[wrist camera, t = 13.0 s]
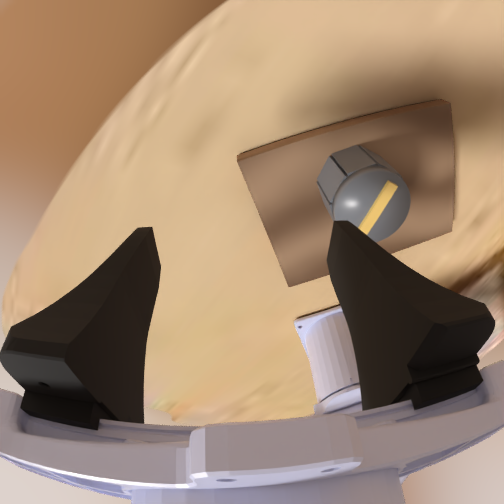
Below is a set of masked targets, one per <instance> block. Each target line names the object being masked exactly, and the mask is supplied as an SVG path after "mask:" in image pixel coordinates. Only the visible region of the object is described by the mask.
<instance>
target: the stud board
mask: <svg viewBox="0 0 504 504" xmlns="http://www.w3.org/2000/svg"><path fill="white" fill-rule="evenodd" d="M354 145H357V146H359V145H360V146H362V147H364V148H366V149H368V150H370V151H372V152H374V153H376V154H378V155H379V156H381V157H382V158H383V159H384V160H385V161H386V162H387V163H388V164H390V165H391V166H392V167H393V168H394V169H395V170H396V171H397V172H398V173H399V174H400V175H401V177H402V178H403V181H404V182H405V183H406V185H407V187H408V189H409V192H410V197H411V203H410V209H409V213H408V215H407V217H406V219H405V221H404V223H403V224H402V225H401V227H400V228H399V229H398V230H397V231H396V232H394V233H393V234H392V235H391V236H389V237H387V238H386V239H384V240H381V241H379V242H376V243H377V244H378V245H380V246H381V247H382V248H383V249H385V250H386V251H387V252H388V253H390V254H392V253H395V252H397V251H400V250H403V249H406V248H409V247H411V246H414V245H417V244H420V243H422V242H425V241H428V240H430V239H433V238H436V237H438V236H441V235H444V234H446V233H449V232H452V224H453V208H454V141H453V125H452V113H451V103H449V102H447V101H444V100H442V99H440V100H434V101H429V102H424V103H419V104H414V105H409V106H404V107H400V108H395V109H391V110H387V111H382V112H378V113H374V114H370V115H366V116H362V117H358V118H354V119H351V120H347V121H343V122H340V123H336V124H332V125H329V126H325V127H322V128H319V129H315V130H312V131H309V132H305V133H302V134H299V135H296V136H292V137H289V138H286V139H283V140H280V141H277V142H274V143H271V144H268V145H265V146H262V147H259V148H257V149H254V150H251V151H248V152H245V153H242V154H240V155H237V162H238V165H239V167H240V169H241V172H242V174H243V177H244V179H245V181H246V184H247V186H248V188H249V191H250V193H251V196H252V198H253V200H254V203H255V205H256V208H257V210H258V213H259V215H260V217H261V220H262V222H263V225H264V227H265V230H266V232H267V234H268V237H269V239H270V242H271V244H272V247H273V249H274V252H275V254H276V257H277V259H278V262H279V264H280V266H281V269H282V271H283V274H284V276H285V279H286V281H287V284H288V286H289V287H292V286H295V285H298V284H301V283H305V282H308V281H311V280H314V279H317V278H320V277H323V276H327V275H330V274H329V270H328V265H327V261H326V260H327V255H328V249H329V244H330V239H331V233H332V228H333V220H332V218H331V216H330V214H329V212H328V210H327V208H326V207H325V205H324V202H323V199H322V196H321V194H320V191H319V188H318V185H317V181H318V180H317V177H318V176H319V174H320V172H321V170H322V168H323V166H324V164H325V162H326V160H327V159H328V157H329V156H331V157H332V153H335V152H337V151H340V150H343V149H346V148H349V147H352V146H354Z"/></svg>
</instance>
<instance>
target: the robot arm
mask: <svg viewBox="0 0 504 504" xmlns="http://www.w3.org/2000/svg"><path fill="white" fill-rule="evenodd" d="M326 261H327V265H328V270H329V274H330V278H331V282H332V284H333V287H334V290H335V292H336V295H337V298H338V300H339V303H340V306H338V307H335V308H331V309H328V310H325V311H322V312H319V313H316V314H312V315H309V316H306V317H302V318H299V319H296V320H295V321H294V325H295V328H296V330H297V332H298V335H299V337H300V339H301V342H302V344H303V346H304V349H305V351H306V353H307V356H308V358H309V361H310V366H311V371H312V376H313V381H314V386H315V391H316V396H317V401H318V404H315V405H314V412H315V414H314V415H311V416H309V417H299V418H290V419H280V420H268V421H254V422H232V423H219V424H209V425H205V426H167V425H152V424H144V367H145V354H146V343H147V337H148V331H149V327H150V322H151V318H152V314H153V310H154V305H155V301H156V297H157V293H158V289H159V281H160V272H161V264H160V260H159V256H158V251H157V247H156V242H155V238H154V233H153V228H152V227H142V228H137V229H136V230H135V231H134V232H133V233H132V234H131V235H130V236H129V237H128V238H127V239H126V240H125V241H124V242H123V243H122V244H121V245H120V246H119V247H118V248H117V249H116V250H115V252H114V253H113V254H112V255H111V256H110V257H109V258H108V259H107V260H106V261H105V262H103V263H102V264H101V265H100V266H99V267H98V268H97V269H96V270H95V271H94V272H93V273H92V274H91V275H90V276H89V277H88V278H86V279H85V280H84V281H83V282H82V283H80V284H79V285H78V286H77V287H75V288H74V289H73V290H71V291H70V292H69V293H67V294H66V295H65V296H63V297H62V298H60V299H59V300H58V301H56V302H55V303H53V304H52V305H50V306H48V307H47V308H45V309H44V310H42V311H40V312H39V313H37V314H35V315H33V316H31V317H29V318H27V319H26V320H24V321H22V322H20V323H18V324H16V325H14V326H11V328H10V331H9V333H8V335H7V337H6V340H5V342H4V344H3V347H2V349H1V352H0V361H1V363H2V365H3V367H4V368H5V370H6V371H7V372H8V373H9V374H10V375H11V376H12V377H13V378H14V379H15V380H16V381H17V382H18V383H19V384H20V385H21V386H22V387H23V388H24V389H25V393H24V396H23V397H22V396H21V395H19V394H17V393H14V392H10V391H7V390H4V389H0V457H2V458H4V459H5V460H7V461H9V462H11V463H13V464H15V465H16V466H18V467H20V468H23V469H26V470H28V471H31V472H34V473H36V474H39V475H42V476H45V477H47V478H50V479H53V480H56V481H59V482H62V483H65V484H69V485H72V486H75V487H79V488H82V489H86V490H90V491H93V492H97V493H102V494H106V495H110V496H115V497H120V498H125V499H130V500H131V504H405V499H404V495H403V491H402V486H401V485H402V483H403V482H404V481H405V479H406V478H407V477H408V476H409V474H411V473H414V472H416V471H419V470H421V469H424V468H426V467H429V466H431V465H433V464H436V463H438V462H440V461H443V460H445V459H447V458H449V457H451V456H453V455H456V454H457V453H460V452H461V451H464V450H466V449H468V448H470V447H472V446H474V445H475V444H478V443H479V442H481V441H483V440H485V439H487V438H489V437H490V436H491V435H493V434H495V433H496V432H497V431H499V430H500V429H502V428H503V427H504V361H503V360H501V361H498V362H496V363H494V364H491V365H488V366H486V367H484V368H483V369H481V370H480V371H479V370H478V368H477V364H478V363H479V358H478V356H477V352H478V351H479V350H480V349H481V348H482V346H483V345H484V344H485V342H486V341H487V340H488V339H489V337H490V336H491V334H492V332H493V330H494V327H495V320H494V318H493V317H492V315H491V313H490V312H489V310H488V308H487V307H486V305H485V304H484V303H481V302H478V301H476V300H473V299H470V298H467V297H464V296H462V295H460V294H457V293H455V292H453V291H451V290H448V289H446V288H444V287H442V286H440V285H438V284H436V283H435V282H433V281H431V280H429V279H427V278H426V277H424V276H422V275H420V274H419V273H417V272H416V271H414V270H413V269H411V268H409V267H408V266H406V265H405V264H403V263H402V262H401V261H399V260H398V259H397V258H395V257H394V256H392V255H391V254H390V253H388V252H387V251H386V250H385V249H383V248H382V247H381V246H380V245H378V244H377V243H376V242H375V241H373V240H372V239H371V238H370V237H368V236H367V235H366V234H365V233H364V232H362V231H361V230H360V229H359V228H357V227H356V226H355V225H354V224H352V223H351V222H349V221H348V220H341V221H334V222H333V228H332V233H331V239H330V244H329V249H328V255H327V260H326Z"/></svg>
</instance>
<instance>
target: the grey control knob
mask: <svg viewBox="0 0 504 504" xmlns="http://www.w3.org/2000/svg"><path fill="white" fill-rule="evenodd" d="M317 180H318V181H317V185H318V188H319V191H320V194H321V196H322V199H323V202H324V205H325V207H326V208H327V210H328V212H329V214H330V216H331V218H332V220H333V222H334V221H341V220H348V221H349V222H351V223H352V224H354V225H355V226H356V227H357V228H359V229H360V230H361V231H362V232H364V233H365V234H366V235H367V236H368V237H370V238H371V239H372V240H373V241H375V242H379V241H381V240H384V239H386V238H387V237H389V236H391V235H392V234H393V233H394V232H396V231H397V230H398V229H399V228H400V227H401V225H402V224H403V223H404V221H405V219H406V217H407V215H408V213H409V209H410V203H411V197H410V192H409V189H408V187H407V185H406V183H405V182H404V181H403V178H402V177H401V175H400V174H399V173H398V172H397V171H396V170H395V169H394V168H393V167H392V166H391V165H390V164H388V163H387V162H386V161H385V160H384V159H383V158H382V157H381V156H379V155H378V154H376V153H374V152H372V151H370V150H368V149H366V148H364V147H362V146H360V145H359V146H357V145H354V146H352V147H349V148H346V149H343V150H340V151H337V152H335V153H332V157H331V156H329V157H328V159H327V160H326V162H325V164H324V166H323V168H322V170H321V172H320V174H319V176H318V177H317Z"/></svg>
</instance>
